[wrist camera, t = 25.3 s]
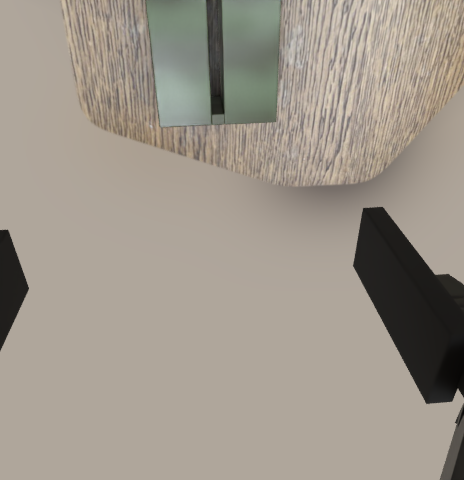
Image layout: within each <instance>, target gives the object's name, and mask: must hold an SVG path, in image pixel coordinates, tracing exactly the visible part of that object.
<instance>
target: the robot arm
mask: <svg viewBox="0 0 464 480" xmlns="http://www.w3.org/2000/svg"><path fill="white" fill-rule="evenodd" d="M353 267H354V268H355V270H356V272H357V274H358V276H359V278H360V280H361V282H362V284H363V285H364V287H365V289H366V291H367V293H368V295H369V297H370V298H371V300H372V302H373V304H374V306H375V308H376V310H377V312H378V314H379V315H380V317H381V319H382V321H383V323H384V325H385V327H386V329H387V330H388V332H389V334H390V336H391V338H392V340H393V342H394V344H395V345H396V347H397V349H398V351H399V353H400V355H401V357H402V359H403V361H404V362H405V364H406V366H407V368H408V370H409V372H410V374H411V376H412V377H413V379H414V381H415V383H416V385H417V387H418V389H419V391H420V392H421V394H422V396H423V398H424V400H425V402H426V404H430V403H441V402H452V400H453V398H454V396H455V393H456V391H457V388H458V389H459V391H460V392H461V394H462V395H463V397H464V285H463V284H462V283H461V282H459V281H457V280H456V279H455V278H453V277H452V276H450V275H449V274H443V275H435V274H434V273H433V272H432V270H431V269H430V268H429V266H428V265H427V264H426V263H425V261H424V260H423V259H422V257H421V256H420V255H419V253H418V252H417V251H416V250H415V248H414V247H413V246H412V245H411V243H410V242H409V240H408V239H407V238H406V237H405V235H404V234H403V233H402V231H401V230H400V229H399V227H398V226H397V225H396V224H395V222H394V221H393V220H392V219H391V217H390V216H389V215H388V213H387V212H386V211H385V209H384V208H383V207H375V208H363V212H362V218H361V223H360V230H359V236H358V241H357V247H356V253H355V259H354V264H353ZM28 289H29V287H28V284H27V282H26V279H25V276H24V273H23V270H22V268H21V265H20V262H19V259H18V256H17V253H16V251H15V248H14V245H13V242H12V239H11V237H10V234H9V231H8V230H0V350H1V348H2V346H3V344H4V342H5V340H6V337H7V335H8V333H9V331H10V329H11V327H12V324H13V322H14V320H15V318H16V316H17V313H18V311H19V309H20V307H21V305H22V303H23V301H24V298H25V296H26V294H27V292H28ZM455 423H456V424H457V425H456V429H455V432H454V435H453V439H452V442H451V445H450V449H449V451H448V455H447V458H446V461H445V464H444V468H443V471H442V474H441V478H440V480H464V404H463V406H462V408H461V410H460V413H459V415H458V417H457V419H456V422H455Z"/></svg>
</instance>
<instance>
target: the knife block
mask: <svg viewBox="0 0 464 480" xmlns="http://www.w3.org/2000/svg"><path fill="white" fill-rule="evenodd" d="M217 7H218V38H219V70H220V96H211V91H210V69H209V46H208V23H207V0H146V9H147V18H148V27H149V36H150V45H151V54H152V63H153V72H154V81H155V89H156V98H157V107H158V116H159V125H160V127H180V126H201V125H222V124H245V123H267V122H276V114H277V88H278V63H279V37H280V12H281V0H217Z"/></svg>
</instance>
